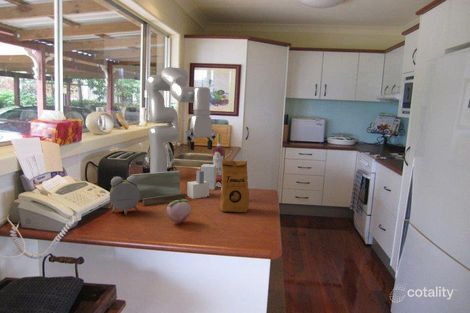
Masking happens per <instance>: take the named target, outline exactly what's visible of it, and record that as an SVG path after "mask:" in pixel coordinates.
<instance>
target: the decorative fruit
mask: <svg viewBox="0 0 470 313" xmlns="http://www.w3.org/2000/svg"><path fill="white" fill-rule="evenodd" d="M179 199H180V198H179ZM190 203H191V201H190V200H188V199H186V198H185V199H181V200H176V201H173V202H169V204H168V205H167V207H166V213H167V216H168V219H169V220H171V221H172V222H173V223H176V224H181V223H183V222H185V221H186V220H188V218H189V217H190V215H191V214H192V206H191V205H190Z"/></svg>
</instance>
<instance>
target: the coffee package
mask: <svg viewBox="0 0 470 313" xmlns="http://www.w3.org/2000/svg"><path fill="white" fill-rule="evenodd" d="M222 168H223V169H222V182H221V187H222V191H221V190H220V199H219V209H220V211H221V212H226V213H227V212H228V213H232V212H233V213H247V212H248V210H249V207H250V206H249V205H250V193H249V192H250V191H249V183H248V179H249V178H248V161H247V160H227V159H226V160H222Z"/></svg>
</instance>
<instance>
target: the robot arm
mask: <svg viewBox="0 0 470 313" xmlns="http://www.w3.org/2000/svg"><path fill="white" fill-rule="evenodd" d="M188 81H189V73H188V71H187V70H186V69H184V68H182V67H181V68H179V67H171V66H168V67H164V68H163V69H162V70H161V73H160V74H151V75H149V76H148V77H147V78H146V80H145V89H146V93H147V97H148V102H149V103H148V104H149V118H150V121H151V123H154V124H162V125H155V126H151V127H150V128H149V130H148V133H147V134H148V135H147V136H148V141H149V160H150V161H149V162H150V164H149V173H157V172H168V161H167V160H168V150H167V147H166V146H165V144H164V143H174V142H177V141H178V140H179V130H180V129H179V118H178V117H179V115H178V111H177V110H176V109H175V108H174V107H171V106H167V107H166V106H165V105H166V104H165V98H164V97H163V96H164V95H163V94H162V93H161V92H160V91H163V92H170V94H171V96H172V97H173V99H175V100H176V101H178V102H180V103H186V104H187V103H192V104H193V116H191V119H190V122H189V123H190V124H189V129H188V130H186V131H185V132H184V136H185V139H186V140H187V141H188V142H189V143H188V144H189V145H188V146H189V151H195V142H194V141H195V140H196V139H197V138H198V139H203V138H207V146H206V148H207V149H208V150H213V142H214V140H215V138H217V134H218V132H217V131H216V130H214V129H213V125H212V118H211V115H213V114H212V113H213V112H212V111H211V110H210V106H211V104H210V102H211V90H210V88H209V87H206V86H194V87H193V86H187V84H188ZM163 124H167V125H163Z"/></svg>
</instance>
